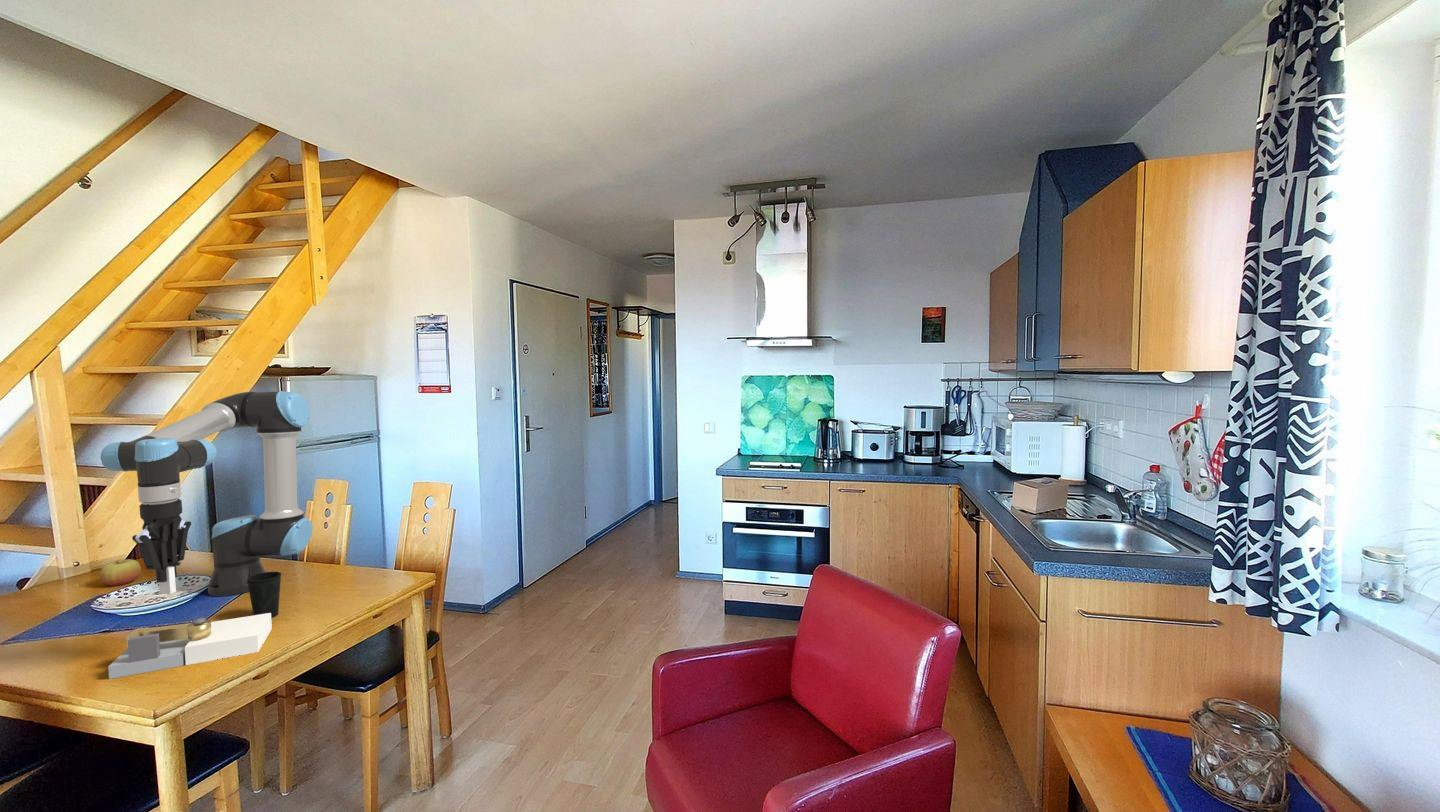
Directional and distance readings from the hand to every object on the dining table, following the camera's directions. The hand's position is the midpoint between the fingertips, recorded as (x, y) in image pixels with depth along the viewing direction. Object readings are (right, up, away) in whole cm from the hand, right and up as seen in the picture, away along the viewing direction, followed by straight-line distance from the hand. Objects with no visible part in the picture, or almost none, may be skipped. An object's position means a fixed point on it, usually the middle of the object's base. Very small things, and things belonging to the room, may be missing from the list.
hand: (168, 592), depth 143 cm
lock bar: (+3, -11, -2) cm, 11 cm away
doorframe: (+6, -16, +2) cm, 17 cm away
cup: (+7, -15, +23) cm, 28 cm away
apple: (-63, -13, +48) cm, 80 cm away
